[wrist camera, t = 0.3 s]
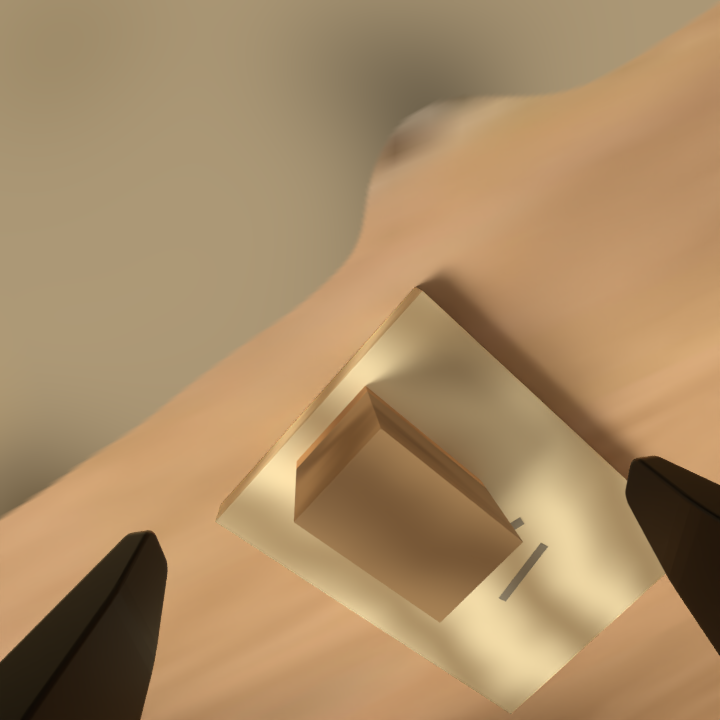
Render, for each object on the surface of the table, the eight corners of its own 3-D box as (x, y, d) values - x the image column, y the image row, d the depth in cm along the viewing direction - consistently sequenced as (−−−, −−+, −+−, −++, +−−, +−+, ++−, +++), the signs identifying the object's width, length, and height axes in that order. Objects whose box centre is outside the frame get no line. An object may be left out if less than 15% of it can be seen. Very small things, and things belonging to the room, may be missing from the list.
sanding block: (414, 547, 25) (439, 622, 20) (296, 460, 23) (293, 522, 18) (481, 480, 24) (523, 542, 20) (365, 385, 22) (380, 428, 18)
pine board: (501, 691, 31) (511, 714, 29) (220, 504, 25) (215, 522, 23) (677, 529, 29) (697, 545, 27) (415, 286, 23) (422, 291, 21)
